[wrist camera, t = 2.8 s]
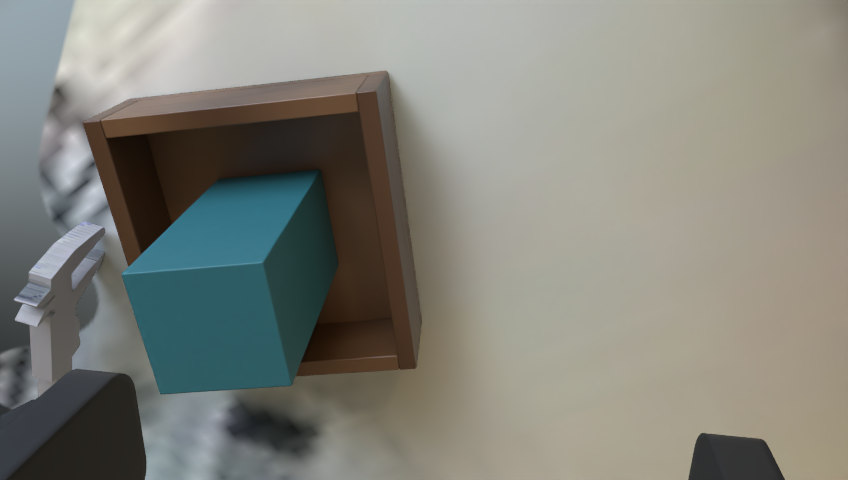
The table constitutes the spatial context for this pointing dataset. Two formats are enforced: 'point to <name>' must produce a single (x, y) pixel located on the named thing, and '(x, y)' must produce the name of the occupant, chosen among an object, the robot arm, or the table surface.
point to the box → (279, 153)
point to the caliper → (58, 301)
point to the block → (236, 284)
